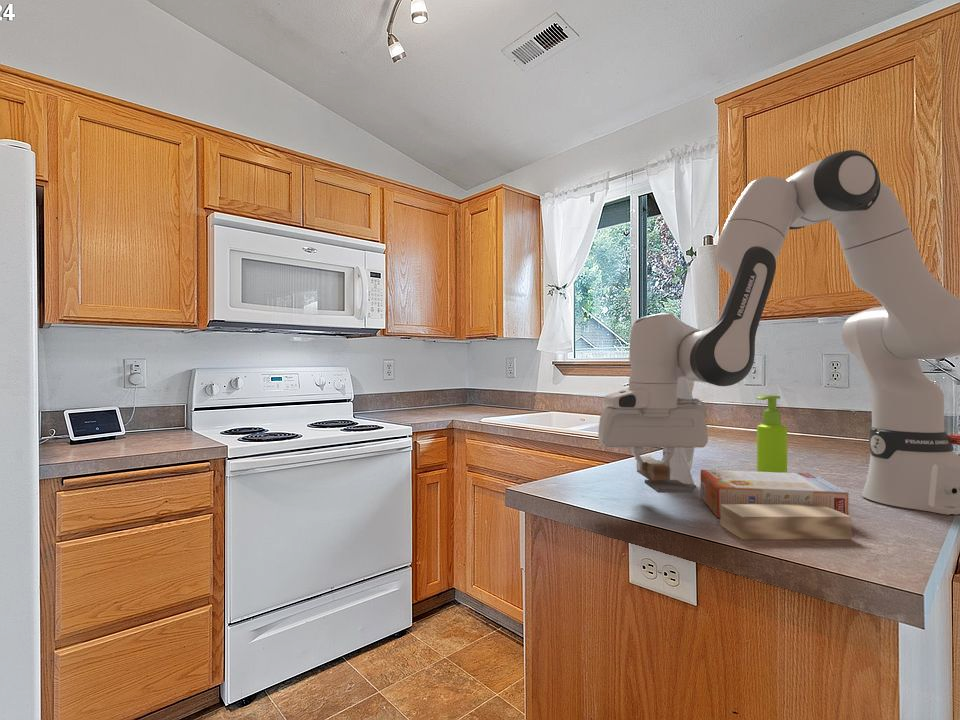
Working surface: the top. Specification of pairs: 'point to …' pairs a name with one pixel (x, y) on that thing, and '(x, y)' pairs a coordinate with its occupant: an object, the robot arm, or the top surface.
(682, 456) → the skyscraper
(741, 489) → the cracker box
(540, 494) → the top surface
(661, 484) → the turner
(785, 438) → the soap dispenser
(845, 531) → the beech board
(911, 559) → the top surface
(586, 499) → the top surface
